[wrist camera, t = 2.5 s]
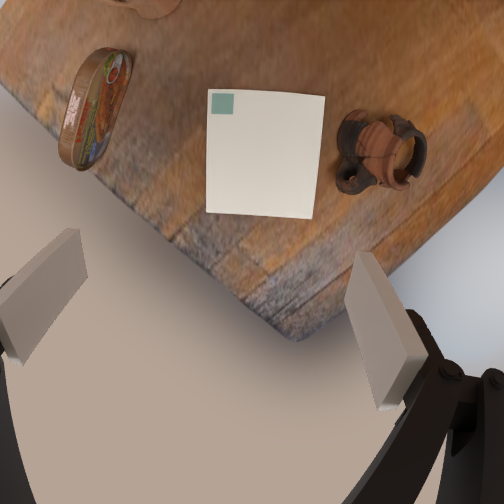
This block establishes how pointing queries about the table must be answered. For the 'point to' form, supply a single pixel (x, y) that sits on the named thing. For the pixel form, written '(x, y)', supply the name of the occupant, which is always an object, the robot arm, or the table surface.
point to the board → (262, 152)
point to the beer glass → (147, 6)
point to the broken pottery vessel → (376, 153)
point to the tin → (93, 107)
